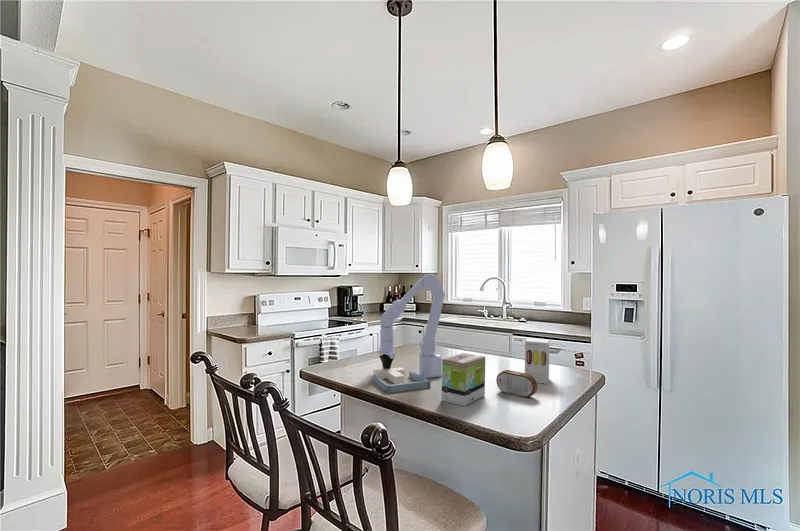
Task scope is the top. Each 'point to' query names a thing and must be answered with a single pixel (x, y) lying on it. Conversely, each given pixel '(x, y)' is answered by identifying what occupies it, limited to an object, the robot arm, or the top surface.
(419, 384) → the shallow grey tray
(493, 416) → the top surface
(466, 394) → the tea box
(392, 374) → the t block
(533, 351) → the supplement box
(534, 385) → the tin
